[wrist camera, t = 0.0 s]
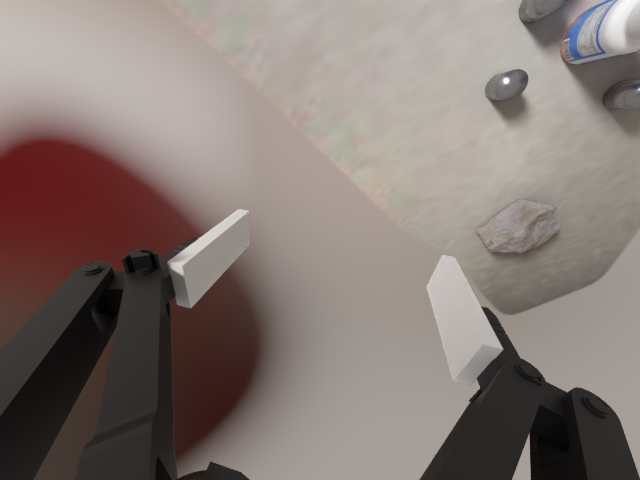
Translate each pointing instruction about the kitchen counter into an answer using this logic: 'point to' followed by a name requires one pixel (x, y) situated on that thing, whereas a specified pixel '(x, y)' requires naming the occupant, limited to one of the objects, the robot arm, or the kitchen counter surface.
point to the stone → (519, 227)
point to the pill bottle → (603, 32)
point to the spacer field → (513, 83)
